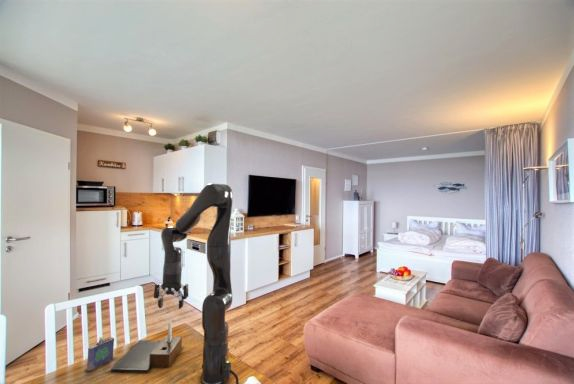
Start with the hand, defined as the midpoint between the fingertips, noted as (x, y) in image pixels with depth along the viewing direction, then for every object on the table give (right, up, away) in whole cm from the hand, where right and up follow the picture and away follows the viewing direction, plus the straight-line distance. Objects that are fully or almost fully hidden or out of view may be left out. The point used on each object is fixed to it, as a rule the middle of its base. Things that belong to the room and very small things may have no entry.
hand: (170, 307), depth 113 cm
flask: (-25, -19, -9) cm, 32 cm away
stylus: (-1, -20, 0) cm, 20 cm away
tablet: (-11, -20, -3) cm, 22 cm away
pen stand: (-1, -20, -3) cm, 20 cm away
